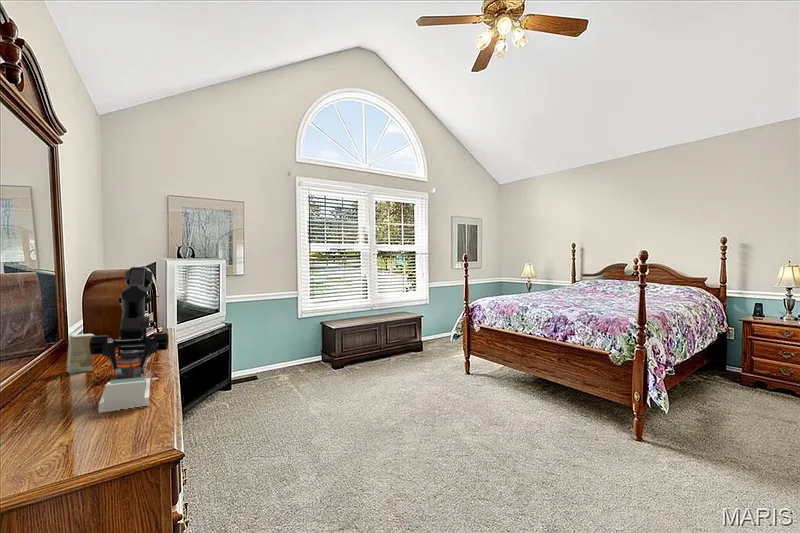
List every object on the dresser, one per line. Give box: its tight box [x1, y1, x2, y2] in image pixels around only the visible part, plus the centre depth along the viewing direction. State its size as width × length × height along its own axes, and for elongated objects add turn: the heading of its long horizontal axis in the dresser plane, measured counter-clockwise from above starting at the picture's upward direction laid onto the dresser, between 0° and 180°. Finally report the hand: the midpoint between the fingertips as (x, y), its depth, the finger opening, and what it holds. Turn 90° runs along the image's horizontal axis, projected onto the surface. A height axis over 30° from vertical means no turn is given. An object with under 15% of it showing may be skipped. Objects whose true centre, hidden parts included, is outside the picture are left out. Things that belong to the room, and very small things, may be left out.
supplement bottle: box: [115, 350, 142, 380], centre depth 108 cm, size 6×6×11 cm
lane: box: [98, 377, 151, 414], centre depth 105 cm, size 20×10×7 cm, turn 32°
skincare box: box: [65, 333, 96, 374], centre depth 129 cm, size 6×4×12 cm
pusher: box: [109, 376, 145, 384], centre depth 104 cm, size 3×8×4 cm, turn 123°
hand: (128, 368), depth 107 cm, fingers closed on supplement bottle, 6 cm apart
